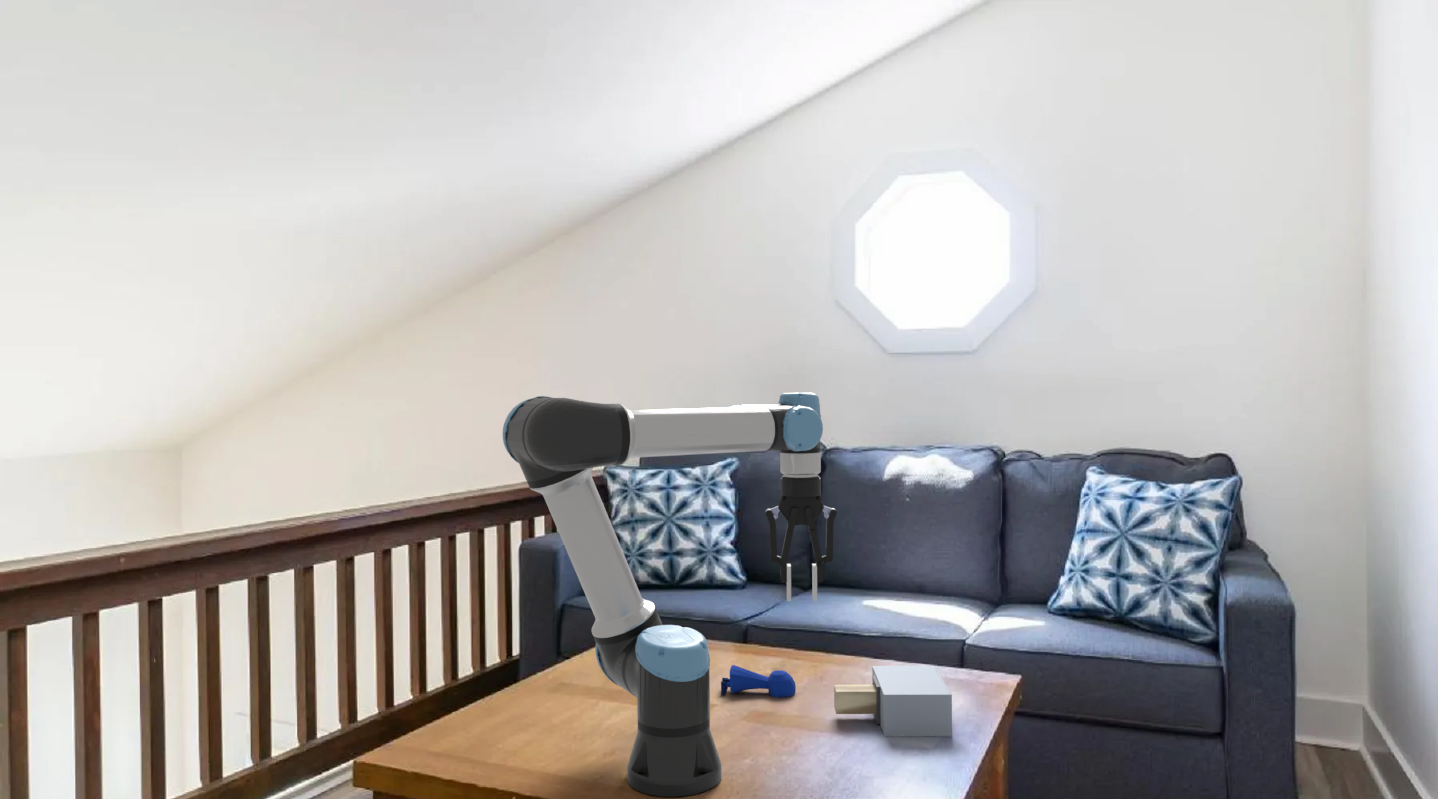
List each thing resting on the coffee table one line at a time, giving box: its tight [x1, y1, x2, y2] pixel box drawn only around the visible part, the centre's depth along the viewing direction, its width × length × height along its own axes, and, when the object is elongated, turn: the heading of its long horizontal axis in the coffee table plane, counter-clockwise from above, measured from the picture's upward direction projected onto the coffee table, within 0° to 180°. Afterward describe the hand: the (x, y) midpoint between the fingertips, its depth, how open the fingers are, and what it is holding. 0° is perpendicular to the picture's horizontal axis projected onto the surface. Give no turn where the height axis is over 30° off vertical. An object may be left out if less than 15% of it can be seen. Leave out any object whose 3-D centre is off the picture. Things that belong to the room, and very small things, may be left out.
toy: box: [720, 664, 797, 699], centre depth 206 cm, size 7×6×15 cm
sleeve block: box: [871, 665, 953, 737], centre depth 189 cm, size 18×13×8 cm
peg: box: [833, 684, 877, 715], centre depth 189 cm, size 4×16×4 cm, turn 88°
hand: (801, 599), depth 189 cm, fingers open, 4 cm apart
